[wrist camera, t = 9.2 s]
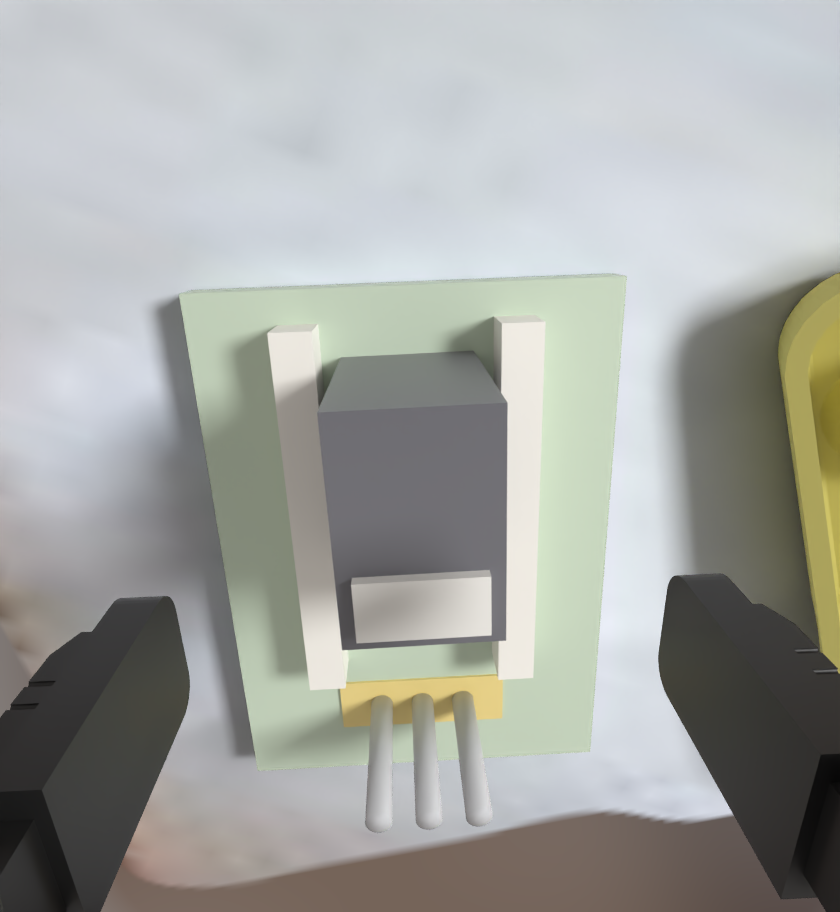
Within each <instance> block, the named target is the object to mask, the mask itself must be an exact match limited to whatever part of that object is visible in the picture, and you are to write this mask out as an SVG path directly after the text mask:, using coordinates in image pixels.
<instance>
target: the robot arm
mask: <svg viewBox="0 0 840 912" xmlns="http://www.w3.org/2000/svg"><path fill="white" fill-rule="evenodd" d="M658 662H659V672H660V677H661V681H662V684H663V687H664V690H665V692H666V694H667V696H668V698H669V700H670V702H671V704H672V705H673V707H674V709H675V711H676V713H677V714H678V716H679V718H680V720H681V721H682V723H683V725H684V727H685V729H686V730H687V732H688V734H689V736H690V738H691V739H692V741H693V743H694V745H695V747H696V748H697V750H698V752H699V754H700V755H701V757H702V759H703V761H704V763H705V764H706V766H707V768H708V770H709V772H710V773H711V775H712V777H713V779H714V780H715V782H716V784H717V786H718V788H719V789H720V791H721V793H722V795H723V797H724V798H725V800H726V802H727V804H728V806H729V807H730V809H731V811H732V813H733V814H734V816H735V818H736V820H737V822H738V823H739V825H740V827H741V829H742V831H743V832H744V834H745V836H746V838H747V839H748V841H749V843H750V845H751V846H752V848H753V850H754V852H755V854H756V856H757V857H758V859H759V861H760V863H761V865H762V866H763V868H764V870H765V872H766V873H767V875H768V877H769V879H770V880H771V882H772V884H773V886H774V888H775V890H776V891H777V893H778V895H779V897H780V898H781V899H797V898H815V897H817V898H818V899H819V901H820V903H821V904H822V906H823V907H824V909H825V911H826V912H840V674H839V673H838V668H837V667H836V666H835V665H834V664H833V663H832V662H831V661H830V660H829V659H828V658H827V657H826V656H825V655H824V654H823V653H819V652H818V647H817V646H816V645H815V644H814V643H813V642H812V641H811V640H810V639H809V638H808V637H807V636H806V635H805V634H804V633H803V632H802V631H801V630H800V629H799V628H798V627H797V626H796V625H795V624H794V623H793V622H791V621H789V620H788V619H786V618H784V617H783V616H781V615H779V614H778V613H776V612H774V611H773V610H771V609H769V608H768V607H766V606H764V605H763V604H752V603H751V602H750V601H749V600H748V599H747V597H746V596H745V595H744V594H743V593H742V592H741V591H740V590H739V589H738V588H737V587H736V585H735V584H734V583H733V582H732V581H731V580H730V579H729V578H728V577H727V576H726V575H724V574H701V575H678V576H674V577H672V578H671V580H670V582H669V584H668V589H667V595H666V603H665V610H664V617H663V625H662V632H661V639H660V646H659V655H658ZM189 690H190V680H189V671H188V667H187V662H186V657H185V652H184V647H183V642H182V638H181V633H180V628H179V623H178V618H177V613H176V609H175V605H174V603H173V601H172V599H171V598H170V597H168V596H162V597H139V598H120V599H117V600H116V601H115V602H114V603H113V604H112V605H111V607H110V608H109V609H108V611H107V612H106V613H105V615H104V616H103V618H102V619H101V620H100V622H99V623H98V624H97V626H96V627H95V628H94V630H93V631H92V632H81V633H80V634H78V635H77V636H75V637H74V638H73V639H71V640H70V641H69V642H67V643H66V644H65V645H63V646H62V647H60V648H59V649H58V650H56V651H55V652H54V653H52V654H51V655H50V656H49V657H48V658H47V659H46V661H45V662H44V663H43V664H42V666H41V667H40V668H39V670H38V671H37V672H36V673H35V675H34V676H33V677H32V678H31V680H30V681H29V686H28V687H24V688H23V690H22V691H21V692H20V693H19V695H18V696H17V697H16V698H15V700H14V701H13V702H12V704H11V708H10V710H7V711H5V712H4V714H3V715H2V716H1V718H0V912H100V911H101V909H102V907H103V904H104V902H105V900H106V898H107V895H108V893H109V891H110V888H111V886H112V884H113V881H114V879H115V877H116V874H117V872H118V870H119V867H120V865H121V863H122V860H123V858H124V856H125V853H126V851H127V849H128V846H129V844H130V842H131V839H132V837H133V835H134V832H135V830H136V828H137V825H138V823H139V821H140V818H141V816H142V814H143V811H144V809H145V807H146V804H147V802H148V800H149V797H150V795H151V793H152V790H153V788H154V786H155V783H156V781H157V779H158V776H159V774H160V772H161V769H162V767H163V765H164V762H165V760H166V758H167V755H168V753H169V751H170V748H171V746H172V744H173V741H174V739H175V737H176V734H177V732H178V730H179V727H180V725H181V723H182V720H183V718H184V715H185V713H186V709H187V705H188V700H189Z"/></svg>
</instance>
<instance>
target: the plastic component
mask: <svg viewBox="0 0 840 912" xmlns="http://www.w3.org/2000/svg"><path fill="white" fill-rule="evenodd" d="M778 361H779V368H780V376H781V383H782V390H783V397H784V404H785V411H786V418H787V425H788V432H789V440H790V447H791V454H792V461H793V468H794V475H795V482H796V489H797V496H798V504H799V511H800V518H801V525H802V532H803V539H804V546H805V553H806V560H807V568H808V575H809V582H810V589H811V596H812V601H813V605H814V610H815V616H816V622H817V627H818V635H819V644H820V652H821V653H823V654H824V655H825V656H826V657H827V658H828V659H829V660H830V661H831V662H832V663H833V664H834V665H835V666H836V667H837V668H838V673H839V674H840V273H838V274H835V275H833V276H831V277H830V278H828V279H826V280H824V281H823V282H821V283H820V284H818V285H817V286H816V287H815V288H813V289H812V290H811V291H810V292H808V293H807V294H806V295H805V296H804V297H803V298H802V299H801V300H800V301H799V303H798V304H797V305H796V306H795V308H794V309H793V310H792V312H791V313H790V315H789V317H788V319H787V320H786V322H785V324H784V326H783V329H782V332H781V335H780V339H779V347H778Z"/></svg>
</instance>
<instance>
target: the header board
mask: <svg viewBox="0 0 840 912" xmlns="http://www.w3.org/2000/svg"><path fill="white" fill-rule="evenodd" d="M626 280H627V276H623V275H618V274H588V275H563V276H538V277H512V278H487V279H462V280H437V281H411V282H386V283H361V284H336V285H310V286H285V287H260V288H234V289H209V290H191V291H187V292H184V293H180V294H179V298H180V304H181V310H182V316H183V322H184V328H185V334H186V340H187V346H188V352H189V358H190V365H191V371H192V377H193V383H194V389H195V395H196V401H197V407H198V413H199V419H200V425H201V431H202V437H203V443H204V449H205V455H206V461H207V467H208V473H209V479H210V485H211V491H212V497H213V504H214V510H215V516H216V522H217V528H218V534H219V540H220V546H221V552H222V558H223V564H224V570H225V576H226V582H227V588H228V594H229V600H230V606H231V612H232V618H233V624H234V630H235V636H236V643H237V649H238V655H239V661H240V667H241V673H242V679H243V685H244V691H245V697H246V703H247V709H248V715H249V721H250V727H251V733H252V739H253V745H254V751H255V757H256V763H257V769H258V771H266V770H283V769H301V768H318V767H335V766H352V765H368V780H367V800H366V820H365V824H366V827H367V828H368V829H369V830H370V831H372V832H376V833H381V832H385V831H387V830H388V829H390V827H391V826H392V782H393V763H404V762H414V783H415V811H416V823H417V825H418V826H419V827H420V828H422V829H426V830H431V829H435V828H437V827H439V826H440V825H441V823H442V821H443V817H442V805H441V792H440V780H439V767H438V761H439V760H456V759H459V763H460V772H461V780H462V788H463V796H464V805H465V813H466V820H467V822H468V823H469V824H470V825H472V826H476V827H480V826H485V825H487V824H488V823H490V822H491V820H492V818H493V813H492V807H491V801H490V795H489V789H488V784H487V778H486V772H485V766H484V760H483V758H491V757H508V756H526V755H543V754H560V753H578V752H590V745H591V732H592V720H593V707H594V694H595V681H596V668H597V655H598V642H599V629H600V616H601V603H602V590H603V577H604V564H605V552H606V539H607V526H608V513H609V500H610V487H611V474H612V461H613V448H614V435H615V422H616V409H617V397H618V384H619V371H620V358H621V345H622V332H623V319H624V306H625V293H626ZM456 351H474V352H475V354H476V355H477V357H478V358H479V360H480V361H481V363H482V364H483V366H484V367H485V369H486V370H487V372H488V374H489V375H490V377H491V378H492V380H493V381H494V383H495V384H496V386H497V387H498V389H499V390H500V392H501V393H502V395H503V396H504V398H505V399H506V401H507V403H508V412H507V588H506V641H491V642H475V643H458V644H441V645H425V646H408V647H392V648H375V649H358V650H342V645H341V635H340V626H339V616H338V607H337V597H336V588H335V578H334V569H333V559H332V550H331V540H330V531H329V521H328V512H327V502H326V493H325V483H324V474H323V464H322V455H321V445H320V436H319V426H318V417H317V412H318V409H319V407H320V405H321V402H322V400H323V398H324V395H325V393H326V391H327V388H328V386H329V384H330V381H331V379H332V377H333V374H334V372H335V370H336V367H337V365H338V363H339V361H340V358H341V357H357V356H377V355H397V354H417V353H436V352H456Z"/></svg>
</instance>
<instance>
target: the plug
mask: <svg viewBox="0 0 840 912" xmlns="http://www.w3.org/2000/svg"><path fill="white" fill-rule="evenodd" d="M507 412H508V403H507V401H506V399H505V398H504V396H503V395H502V393H501V392H500V390H499V389H498V387H497V386H496V384H495V383H494V381H493V380H492V378H491V377H490V375H489V374H488V372H487V370H486V369H485V367H484V366H483V364H482V363H481V361H480V360H479V358H478V357H477V355H476V354H475V352H474V351H456V352H436V353H417V354H397V355H377V356H357V357H341V358H340V361H339V363H338V365H337V367H336V370H335V372H334V374H333V377H332V379H331V381H330V384H329V386H328V388H327V391H326V393H325V395H324V398H323V400H322V402H321V405H320V407H319V409H318V412H317V417H318V426H319V436H320V445H321V455H322V464H323V474H324V483H325V493H326V502H327V512H328V521H329V531H330V540H331V550H332V559H333V569H334V578H335V588H336V597H337V607H338V616H339V626H340V635H341V645H342V650H358V649H375V648H392V647H408V646H425V645H441V644H458V643H475V642H491V641H506V588H507Z"/></svg>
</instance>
